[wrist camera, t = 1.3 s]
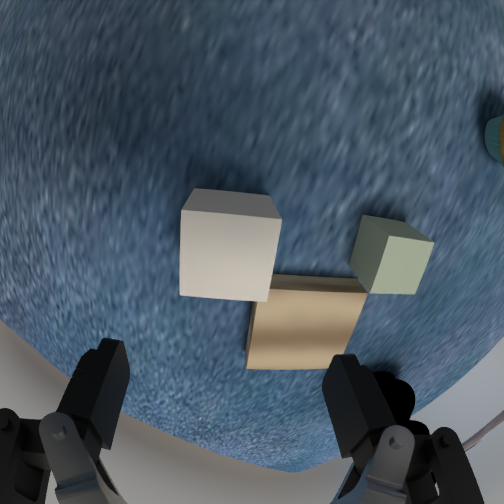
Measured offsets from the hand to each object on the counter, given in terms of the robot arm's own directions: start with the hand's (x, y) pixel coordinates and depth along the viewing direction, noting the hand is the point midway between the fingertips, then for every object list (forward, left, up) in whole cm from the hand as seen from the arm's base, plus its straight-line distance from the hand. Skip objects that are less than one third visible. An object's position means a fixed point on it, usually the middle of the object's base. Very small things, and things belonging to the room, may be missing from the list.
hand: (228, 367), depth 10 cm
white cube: (0, 0, -15) cm, 15 cm away
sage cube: (0, +14, -15) cm, 20 cm away
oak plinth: (+9, +8, -15) cm, 19 cm away
